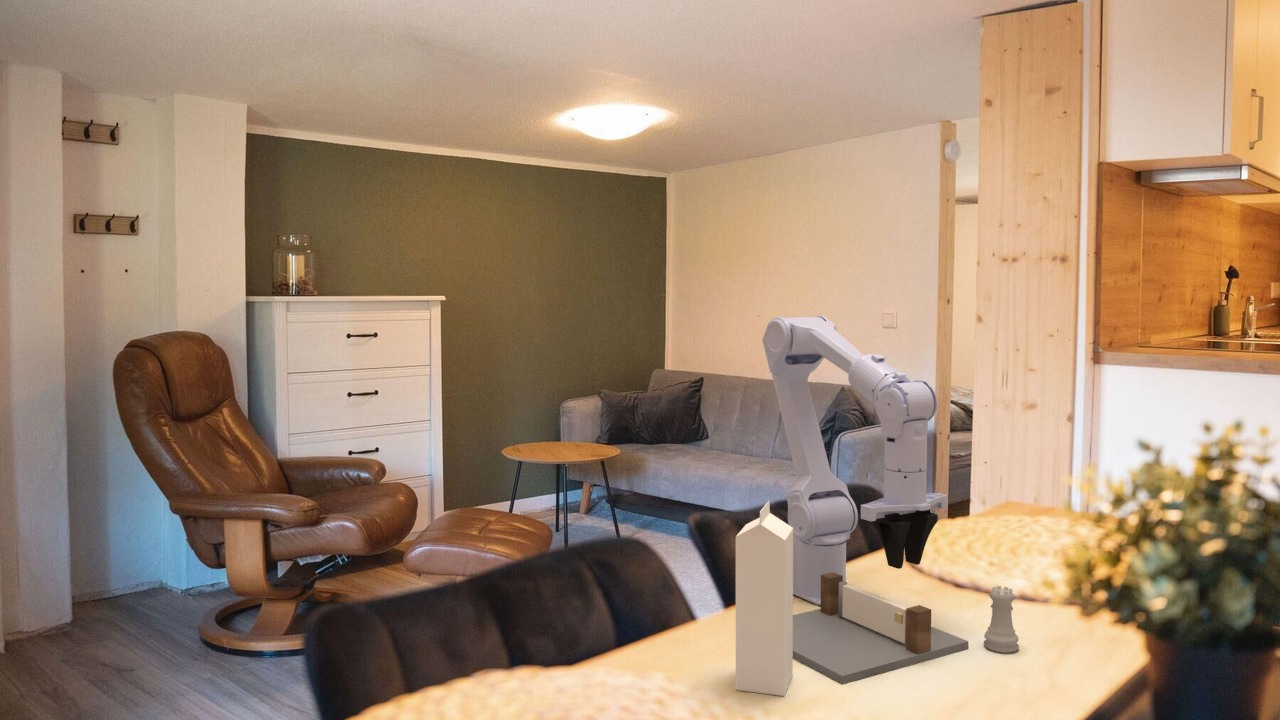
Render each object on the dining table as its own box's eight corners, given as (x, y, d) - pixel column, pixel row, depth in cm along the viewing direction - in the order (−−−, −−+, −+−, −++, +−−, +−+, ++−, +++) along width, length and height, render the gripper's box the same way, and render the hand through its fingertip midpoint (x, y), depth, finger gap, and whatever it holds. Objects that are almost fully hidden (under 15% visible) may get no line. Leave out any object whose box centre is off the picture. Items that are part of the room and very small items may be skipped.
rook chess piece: (1022, 655, 124) (1023, 595, 124) (986, 653, 125) (987, 593, 125) (1015, 642, 129) (1017, 584, 128) (980, 640, 130) (982, 583, 129)
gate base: (745, 632, 133) (744, 625, 133) (863, 605, 144) (863, 599, 144) (842, 683, 116) (842, 676, 116) (968, 648, 127) (968, 641, 127)
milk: (735, 691, 114) (733, 510, 112) (745, 671, 120) (744, 499, 118) (786, 697, 112) (785, 513, 111) (794, 676, 118) (793, 501, 116)
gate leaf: (835, 615, 136) (835, 582, 136) (844, 613, 137) (844, 580, 137) (903, 645, 125) (903, 609, 124) (912, 642, 126) (913, 607, 125)
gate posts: (820, 611, 138) (820, 574, 138) (833, 608, 140) (833, 572, 139) (917, 654, 122) (917, 612, 122) (930, 650, 123) (931, 609, 123)
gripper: (887, 479, 125) (886, 580, 126) (964, 467, 132) (962, 564, 133) (850, 470, 131) (849, 567, 132) (926, 460, 138) (924, 552, 139)
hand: (903, 564), depth 133 cm, fingers open, 3 cm apart
